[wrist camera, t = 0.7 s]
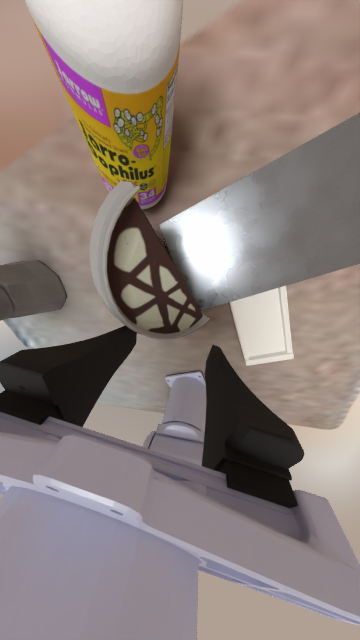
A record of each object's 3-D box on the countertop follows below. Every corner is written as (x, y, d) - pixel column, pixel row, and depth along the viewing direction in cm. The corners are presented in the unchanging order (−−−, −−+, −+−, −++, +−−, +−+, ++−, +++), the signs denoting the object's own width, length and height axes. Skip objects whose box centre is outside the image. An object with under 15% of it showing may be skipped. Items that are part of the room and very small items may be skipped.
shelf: (323, 261, 16) (362, 262, 12) (195, 302, 21) (192, 313, 17) (324, 150, 12) (379, 101, 8) (169, 232, 17) (159, 225, 13)
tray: (286, 350, 21) (293, 358, 20) (243, 357, 23) (246, 365, 22) (277, 277, 17) (286, 279, 15) (226, 293, 19) (228, 297, 17)
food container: (51, 244, 12) (14, 264, 5) (102, 202, 13) (130, 169, 6) (140, 317, 21) (170, 362, 14) (168, 291, 21) (211, 321, 14)
